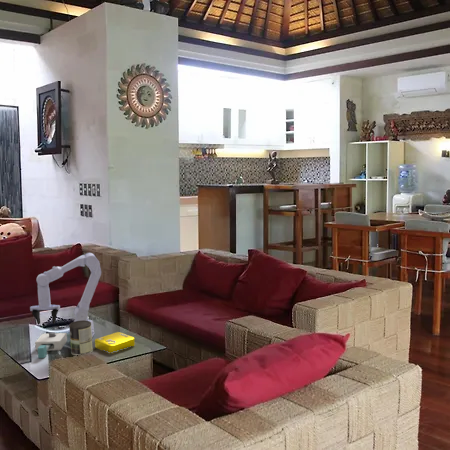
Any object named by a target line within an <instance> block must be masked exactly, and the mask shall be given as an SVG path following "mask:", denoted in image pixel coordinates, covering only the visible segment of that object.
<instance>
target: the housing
mask: <svg viewBox="0 0 450 450" xmlns="http://www.w3.org/2000/svg"><path fill="white" fill-rule="evenodd" d="M54 333H55V337H49V333H42V334H41V335H40V336H39V337H38V339H36V340H35V341H34V344H35V351H36V352H38V347H39V346H40V345H47V344H52V346H51V347H50V348H49V349H48V351H61V350H62V349H63V348H64V346H65V345H66V343H68V335H67V332H58V333H57V332H54Z"/></svg>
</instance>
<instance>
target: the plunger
mask: <svg viewBox="0 0 450 450" xmlns="http://www.w3.org/2000/svg"><path fill="white" fill-rule="evenodd" d="M55 333H56V332H49V333H48V334H49V337H55Z"/></svg>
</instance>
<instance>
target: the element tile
mask: <svg viewBox="0 0 450 450" xmlns="http://www.w3.org/2000/svg"><path fill="white" fill-rule="evenodd" d="M135 342H136V340H135V337H134V336H132V335H129V334H125V333H123V332H119V331H116V332H113V333H111V334H107V335H104V336H101V337H97V338H95V339H94V345H95V346H94V347H95V349H98V350H100V351H102V350H105V351H108V352H113V351H117V350H120V349H124V348H127V347H130V346H133V347H135V346H136V343H135ZM134 345H135V346H134Z"/></svg>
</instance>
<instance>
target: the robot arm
mask: <svg viewBox="0 0 450 450" xmlns="http://www.w3.org/2000/svg"><path fill="white" fill-rule="evenodd" d="M86 266H87V268H89V270H90V275H89V278H88V281H87V283H86V285H85V288H84V291H83V293H82V296H81V298H80V301H79V302H78V304H77V306H76V307H74V309H73V315H74V318H75V319H74V320H73V322H76V321H83V320H85V321H90V322H91V333H92V338H93V337H94V336H95V334H96V333H95V328H94V327H95V325H94V320H93V319H92V320H91V319H89V309H90V303H91V302H92V299H93V296H94V294H95V292H96V288H97V286H98V284H99V281H100V278H101V276H102V269H101V263H100V260H99V259H98V258H97V257H96V255H95V254H94V252H93V253H92V252H86V253H85V254H82V255H80V256H78V257H76V258H75V259H73V260H71V261H69V262H67V263H66V264H64V265H63V266H62V265H61V266H55V265H54V266H52V268H51V269H49V270H47V271H44V272H43V273H40V274H38V275H37V277H36V283H37V298H38V299H37V300H38V305H32V306H31V305H30V306H29V310H30V312H31V314H32V315H33V317H34V319H35V321H36V324H37V325H38V326H39V325H41V316H40V315H41V314H40V312H41V311H50V314H51V319H52V325H55V324H56V320H57V314H58V312H59V311H60V310H61V305H60V304H51V303H52V302H51V293H50V287H49V284H50V283H53V282H54V281H56V280H58V279H60V278H62V277H63V276H64V274H65V273H67V272H68V271H71V270H73V269H75V268H77V267H86Z"/></svg>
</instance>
